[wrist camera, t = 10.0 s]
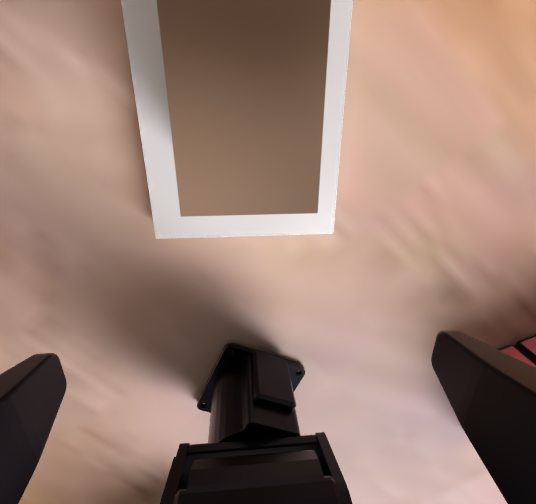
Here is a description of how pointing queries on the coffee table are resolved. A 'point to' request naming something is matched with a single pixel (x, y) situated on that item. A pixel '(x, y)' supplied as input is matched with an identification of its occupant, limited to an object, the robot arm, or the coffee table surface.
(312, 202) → the walnut bar
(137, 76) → the plate
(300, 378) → the robot arm
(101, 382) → the coffee table surface
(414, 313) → the coffee table surface
